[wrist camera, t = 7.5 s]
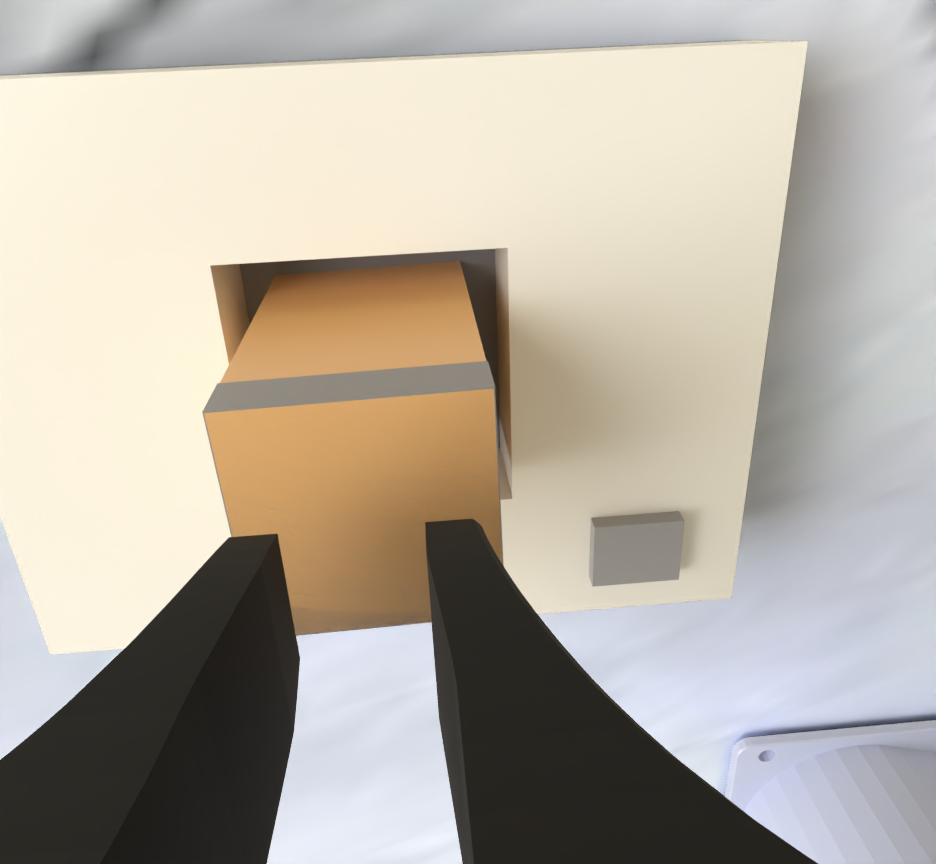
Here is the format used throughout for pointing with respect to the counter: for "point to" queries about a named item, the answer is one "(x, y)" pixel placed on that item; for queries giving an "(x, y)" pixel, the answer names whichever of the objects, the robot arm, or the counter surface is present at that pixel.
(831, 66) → the counter surface
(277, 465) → the plug
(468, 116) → the socket
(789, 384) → the counter surface
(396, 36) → the counter surface
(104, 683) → the robot arm
